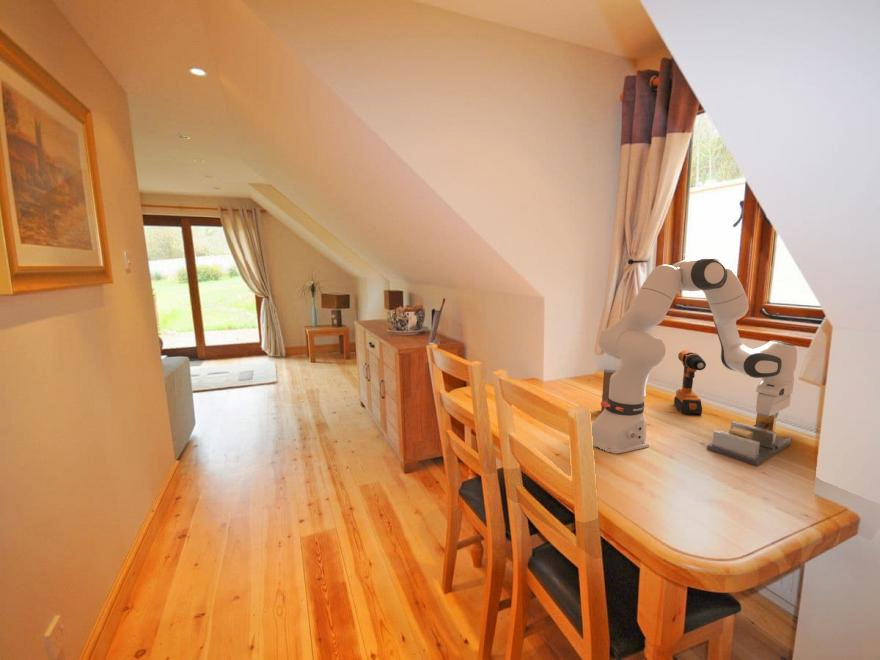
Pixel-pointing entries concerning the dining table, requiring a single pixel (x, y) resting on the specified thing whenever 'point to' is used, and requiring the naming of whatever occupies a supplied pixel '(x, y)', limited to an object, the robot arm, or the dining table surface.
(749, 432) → the brass block
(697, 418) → the dining table surface
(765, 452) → the vise base
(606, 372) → the brown tall block
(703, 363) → the power drill
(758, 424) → the sliding jaw
